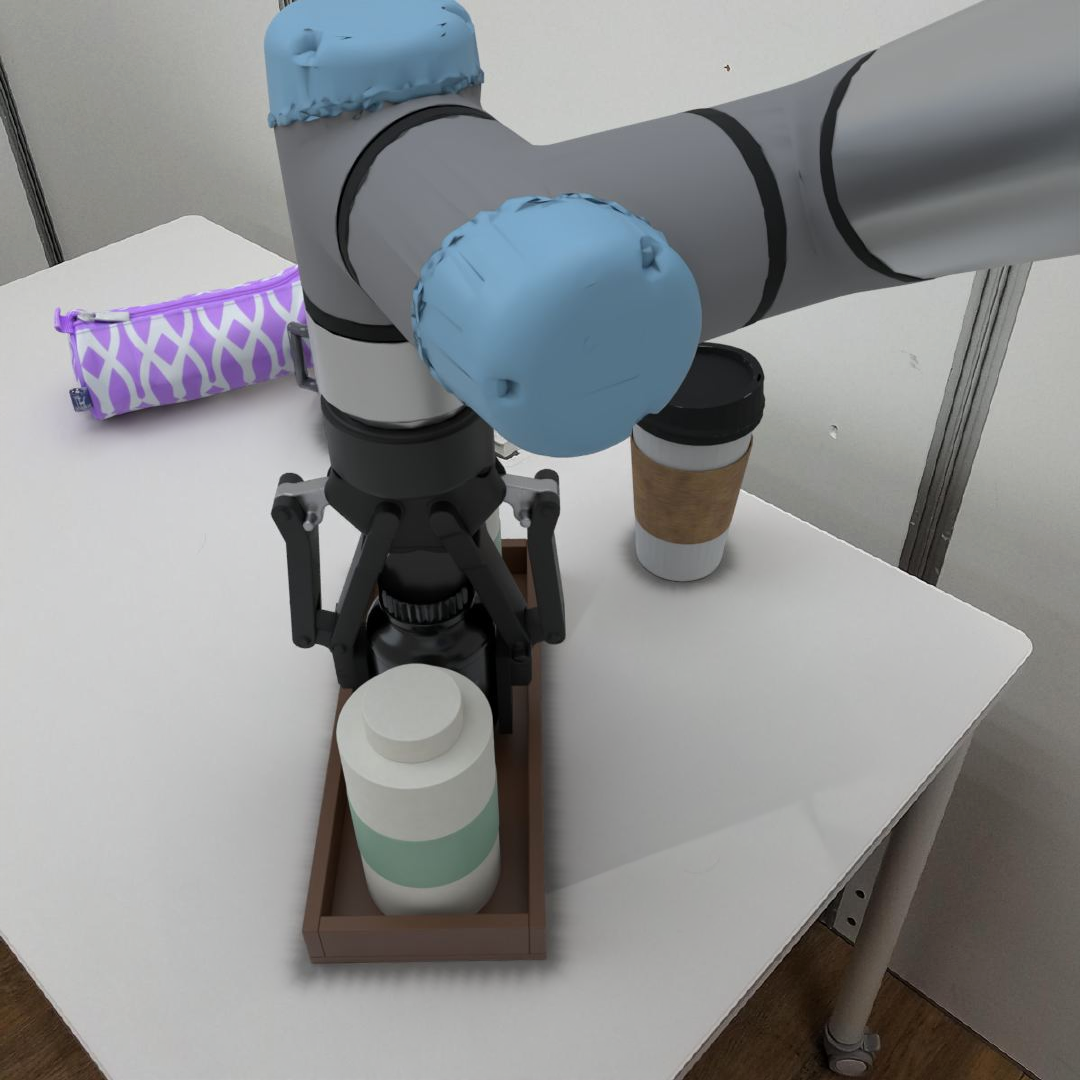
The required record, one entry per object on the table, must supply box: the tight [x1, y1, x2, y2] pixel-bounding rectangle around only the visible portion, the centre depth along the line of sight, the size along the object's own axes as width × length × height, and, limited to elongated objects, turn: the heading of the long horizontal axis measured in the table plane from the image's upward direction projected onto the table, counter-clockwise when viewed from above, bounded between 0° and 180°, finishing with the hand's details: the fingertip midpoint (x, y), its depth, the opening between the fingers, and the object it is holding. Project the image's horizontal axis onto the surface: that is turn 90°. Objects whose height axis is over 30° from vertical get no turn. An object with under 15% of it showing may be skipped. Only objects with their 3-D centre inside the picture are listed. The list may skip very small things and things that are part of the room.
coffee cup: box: [629, 341, 766, 582], centre depth 72 cm, size 8×8×15 cm
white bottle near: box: [336, 664, 501, 915], centre depth 54 cm, size 7×7×14 cm
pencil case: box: [53, 264, 314, 421], centre depth 89 cm, size 22×9×10 cm, turn 115°
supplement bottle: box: [366, 550, 498, 731], centre depth 60 cm, size 7×7×12 cm
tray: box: [301, 538, 547, 964], centre depth 64 cm, size 12×28×3 cm, turn 1°
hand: (440, 715), depth 64 cm, fingers closed on supplement bottle, 7 cm apart
